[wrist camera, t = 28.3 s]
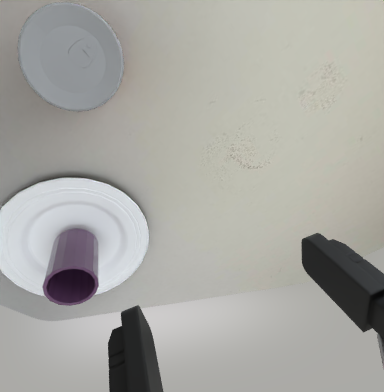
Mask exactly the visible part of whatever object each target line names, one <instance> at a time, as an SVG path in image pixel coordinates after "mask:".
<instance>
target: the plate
mask: <svg viewBox="0 0 384 392" xmlns="http://www.w3.org/2000/svg"><path fill="white" fill-rule="evenodd" d="M75 228H79V229H84V230H87V231H89V232H91V233H93V234H94V235H95V237H96V238H97V240H98V243H99V286H98V289H97V291H96V293H95V294H94V295H96V294H100V293H103V292H106V291H108V290H110V289H112V288H114V287H116V286H117V285H119V284H121V283H122V282H124V281H125V280H126V279H127V278H128V277H130V276H131V275H132V274H133V273H134V272H135V270H136V269H137V268H138V267H139V265H140V264H141V263H142V261H143V259H144V256H145V254H146V251H147V249H148V242H149V230H148V226H147V222H146V218H145V216H144V215H143V213H142V211H141V210H140V208H139V206H138V205H137V204H136V203H135V202H134V201H133V200H132V199H131V198H130V197H129V196H128V195H126V194H125V193H124V192H123V191H121V190H119V189H117V188H115V187H113V186H111V185H109V184H107V183H104V182H100V181H96V180H92V179H88V178H65V177H62V178H57V179H52V180H48V181H43V182H39V183H37V184H35V185H32V186H30V187H28V188H26V189H24V190H22V191H20V192H18V193H17V194H16V195H15V196H14V197H13V198H11V199H10V200H9V201H8V202H7V203H6V204H5V205H4V206H3V207H2V208H1V210H0V270H1V272H2V273H3V274H4V275H5V276H7V277H8V278H9V279H10V280H11V281H12V282H13V283H15V284H16V285H18V286H20V287H22V288H24V289H26V290H27V291H29V292H31V293H34V294H38V295H42V296H45V295H44V292H43V288H42V286H43V282H44V278H45V274H46V270H47V266H48V262H49V258H50V254H51V250H52V246H53V243H54V240H55V238H56V237H57V236H58V235H59V234H60V233H62V232H64V231H66V230H69V229H75Z"/></svg>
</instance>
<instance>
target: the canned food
mask: <svg viewBox="0 0 384 392" xmlns="http://www.w3.org/2000/svg"><path fill="white" fill-rule="evenodd" d="M18 60H19V63H20V67H21V70H22V72H23V75H24V77H25V79H26V81H27V82H28V83H29V85H30V86H31V88H32V89H33V90H34V91H35V92H36V93H37V94H38V95H39V96H40V97H41V98H42V99H44V100H45V101H47V102H48V103H50V104H51V105H54V106H56V107H58V108H60V109H64V110H68V111H78V112H80V111H88V110H91V109H95V108H97V107H99V106H101V105H103V104H104V103H106V102H107V101H108V100H109V99H110V98H111V97H112V96H113V95H114V93H115V92H116V91H117V89H118V87H119V85H120V83H121V80H122V76H123V70H124V59H123V52H122V48H121V45H120V42H119V40H118V38H117V36H116V34H115V32H114V31H113V29H112V28H111V27H110V25H109V24H108V23H107V22H106V21H105V20H104V19H103V18H102V17H101V16H100V15H98V14H97V13H95V12H94V11H92V10H91V9H89V8H86V7H84V6H82V5H79V4H74V3H69V2H56V3H53V4H49V5H45V6H44V7H42V8H40V9H38V10H36V11H35V12H34V13H33V14H32V15H31V16H30V17H29V18H28V19H27V21H26V22H25V24H24V25H23V27H22V30H21V33H20V35H19V40H18Z"/></svg>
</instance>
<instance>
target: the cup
mask: <svg viewBox="0 0 384 392" xmlns="http://www.w3.org/2000/svg"><path fill="white" fill-rule="evenodd" d="M98 286H99V243H98V240H97V238H96V237H95V235H94V234H93V233H91V232H89V231H87V230H84V229H79V228H75V229H69V230H66V231H64V232H62V233H60V234H59V235H58V236H57V237H56V238H55V240H54V243H53V246H52V250H51V254H50V258H49V262H48V266H47V270H46V274H45V278H44V282H43V286H42V288H43V292H44V295H45V296H46V297H47V298H48V299H49V300H50V301H52V302H54V303H56V304H59V305H68V306H70V305H76V304H81V303H83V302H85V301H87V300H89V299H90V298H91V297H92V296H93V295H94V294H95V293H96V291H97V289H98Z"/></svg>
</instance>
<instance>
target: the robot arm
mask: <svg viewBox="0 0 384 392" xmlns="http://www.w3.org/2000/svg"><path fill="white" fill-rule="evenodd" d="M302 264H303V267H304V269H305V271H306V272H307V274H308V275H309V276H310V277H311V278H312V279H313V280H314V281H315V282H316V283H317V284H318V285H319V286H320V287H321V288H322V289H323V290H324V291H325V292H326V293H327V295H328V296H329V297H330V298H331V299H332V300H333V301H334V302H335V303H336V304H337V305H338V306H339V307H340V308H341V309H342V310H343V311H344V312H345V313H346V314H347V315H348V317H349V318H350V319H351V320H352V321H353V322H354V323H355V324H356V325H357V326H358V327H359V328H360V329H361V330H362V331H363V332H365V331H367V330H370V329H371V328H373V329H374V330H375V331H376V332H377V333H378V335H377V338H378V342H379V348H380V353H381V358H382V363H383V368H384V274H383V273H382V272H381V271H379V270H378V269H377V268H375V267H374V266H373V265H372V264H370V263H369V262H368V261H366V260H364V259H363V258H362V257H361V256H360V255H359V254H357V253H355V251H353V250H352V249H351V248H349V247H348V246H347V245H346V244H343V243H341V242H338V241H336V240H334V239H332V240H330V241H329V240H327V239H326V238H325V237H324V236H322V235H321V234H319V233H316V234H313V235H311V236H308V237H306V238H304V239H302ZM121 320H122V326H121V327H118V328H116V329H114V330H112V333H111V336H110V339H109V342H108V355H109V388H110V392H163V388H162V383H161V377H160V372H159V367H158V362H157V356H156V351H155V346H154V341H153V336H152V333H151V330H150V327H149V325H148V323H147V321H146V319H145V317H144V315H143V313H142V311H141V309H140V307H139V305H137V306H135V307H132V308H130V309H127V310H125V311H122V312H121Z"/></svg>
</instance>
